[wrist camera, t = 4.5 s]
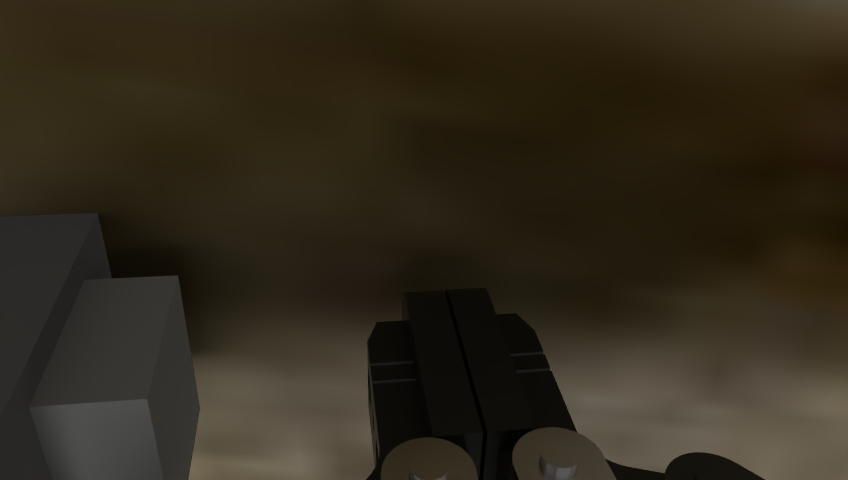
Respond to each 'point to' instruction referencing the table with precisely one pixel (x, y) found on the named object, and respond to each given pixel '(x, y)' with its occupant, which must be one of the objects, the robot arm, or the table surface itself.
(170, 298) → the plug
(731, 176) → the table surface
